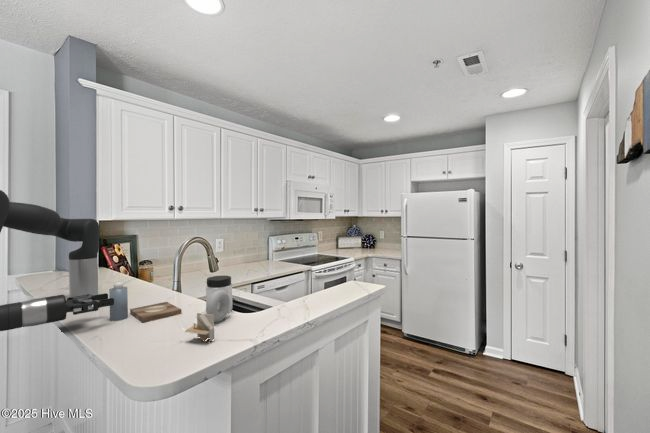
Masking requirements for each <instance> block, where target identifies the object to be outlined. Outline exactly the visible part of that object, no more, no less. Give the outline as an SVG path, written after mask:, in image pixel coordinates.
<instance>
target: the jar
mask: <svg viewBox="0 0 650 433" xmlns="http://www.w3.org/2000/svg"><path fill="white" fill-rule="evenodd" d="M217 290H223V291H225V292H226V293H227V294H228V296H229V298H230V307H229V311H228V314H230V313H231V312H232V310H233V282H232V276H230V275H214V276H209V277H208V278H206V286H205V305H206V304H207V301H208V299H209V297H210V296H211V294H212V293H213V292H215V291H217ZM218 308H219V303H218V306H217V310H218Z"/></svg>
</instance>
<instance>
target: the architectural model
mask: <svg viewBox="0 0 650 433" xmlns="http://www.w3.org/2000/svg"><path fill="white" fill-rule="evenodd" d="M195 318H196V321H197V322H196V323H195V322H194V323H193V326H191V327H189V328H187V329H185V330H184V333H191V334H196V335H197V337H200V338H201V339H200V340H201V341H203V340H204V341H205V340H206V339H207V338H210V340H209V342H210V341H212V340H213V339H214V340H215V322H214V315H210V314H206V313H199V312H197V313H196V316H195ZM204 341H203V342H204Z"/></svg>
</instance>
